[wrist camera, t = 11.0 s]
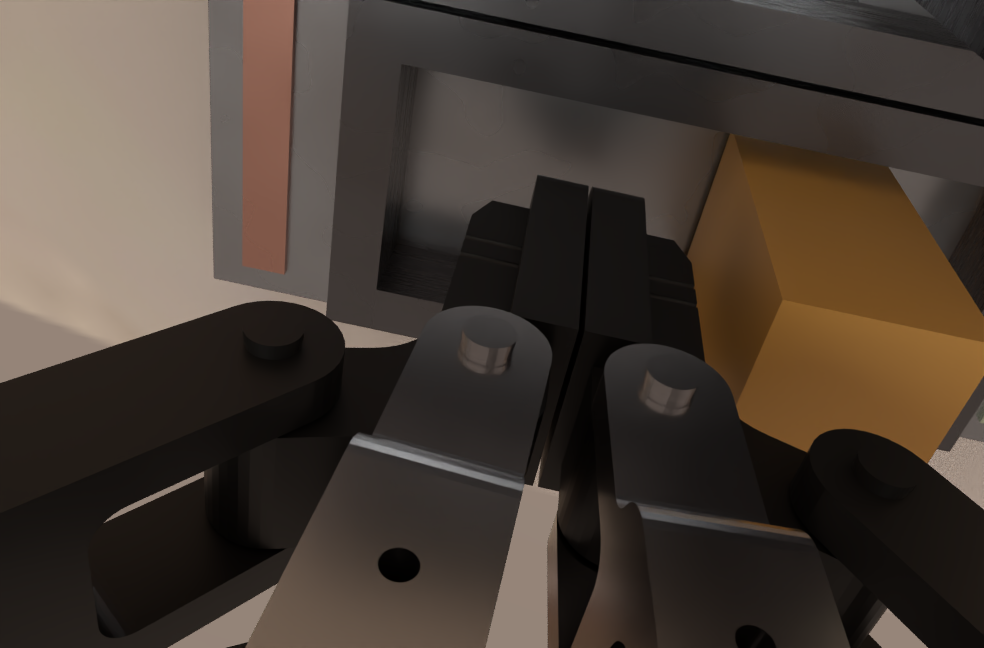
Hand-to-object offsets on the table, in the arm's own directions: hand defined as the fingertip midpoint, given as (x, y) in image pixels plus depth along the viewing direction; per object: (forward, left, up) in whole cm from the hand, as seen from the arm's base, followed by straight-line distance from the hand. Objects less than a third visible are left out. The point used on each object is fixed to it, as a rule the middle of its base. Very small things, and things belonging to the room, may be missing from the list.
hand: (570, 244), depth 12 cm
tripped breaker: (-1, +3, -3) cm, 4 cm away
